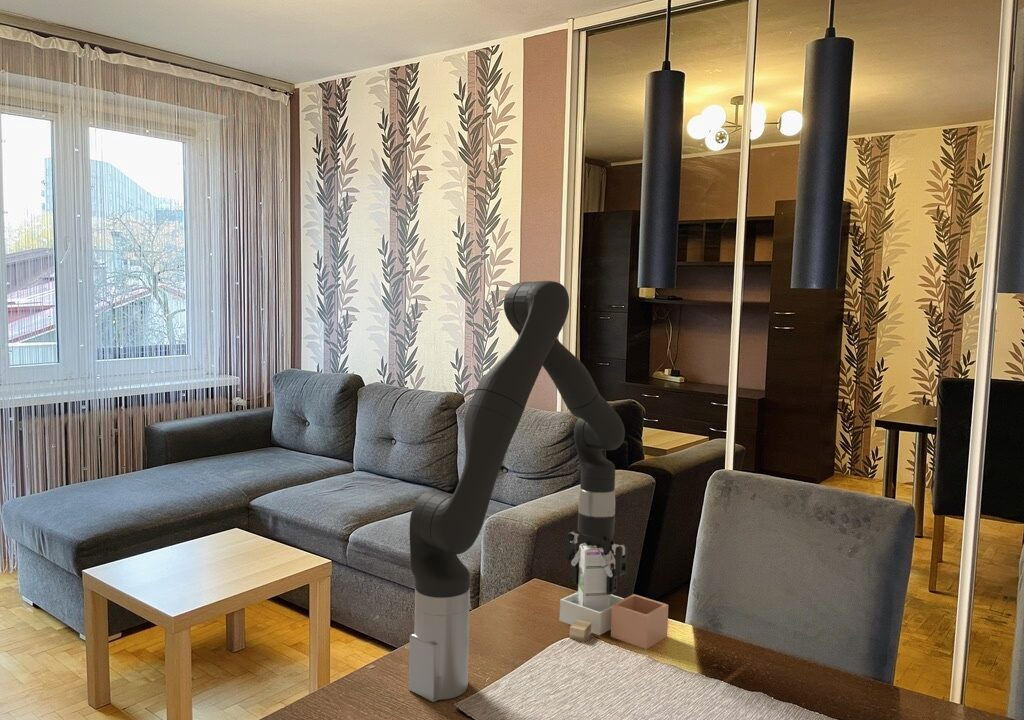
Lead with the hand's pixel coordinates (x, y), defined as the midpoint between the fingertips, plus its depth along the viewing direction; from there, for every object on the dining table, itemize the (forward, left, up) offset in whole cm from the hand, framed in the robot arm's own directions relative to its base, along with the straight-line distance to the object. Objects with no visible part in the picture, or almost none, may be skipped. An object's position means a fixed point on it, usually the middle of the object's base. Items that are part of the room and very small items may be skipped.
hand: (594, 588), depth 153 cm
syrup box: (0, 0, -5) cm, 5 cm away
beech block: (-8, -3, -8) cm, 11 cm away
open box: (0, -11, -8) cm, 13 cm away
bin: (0, 0, -8) cm, 8 cm away
